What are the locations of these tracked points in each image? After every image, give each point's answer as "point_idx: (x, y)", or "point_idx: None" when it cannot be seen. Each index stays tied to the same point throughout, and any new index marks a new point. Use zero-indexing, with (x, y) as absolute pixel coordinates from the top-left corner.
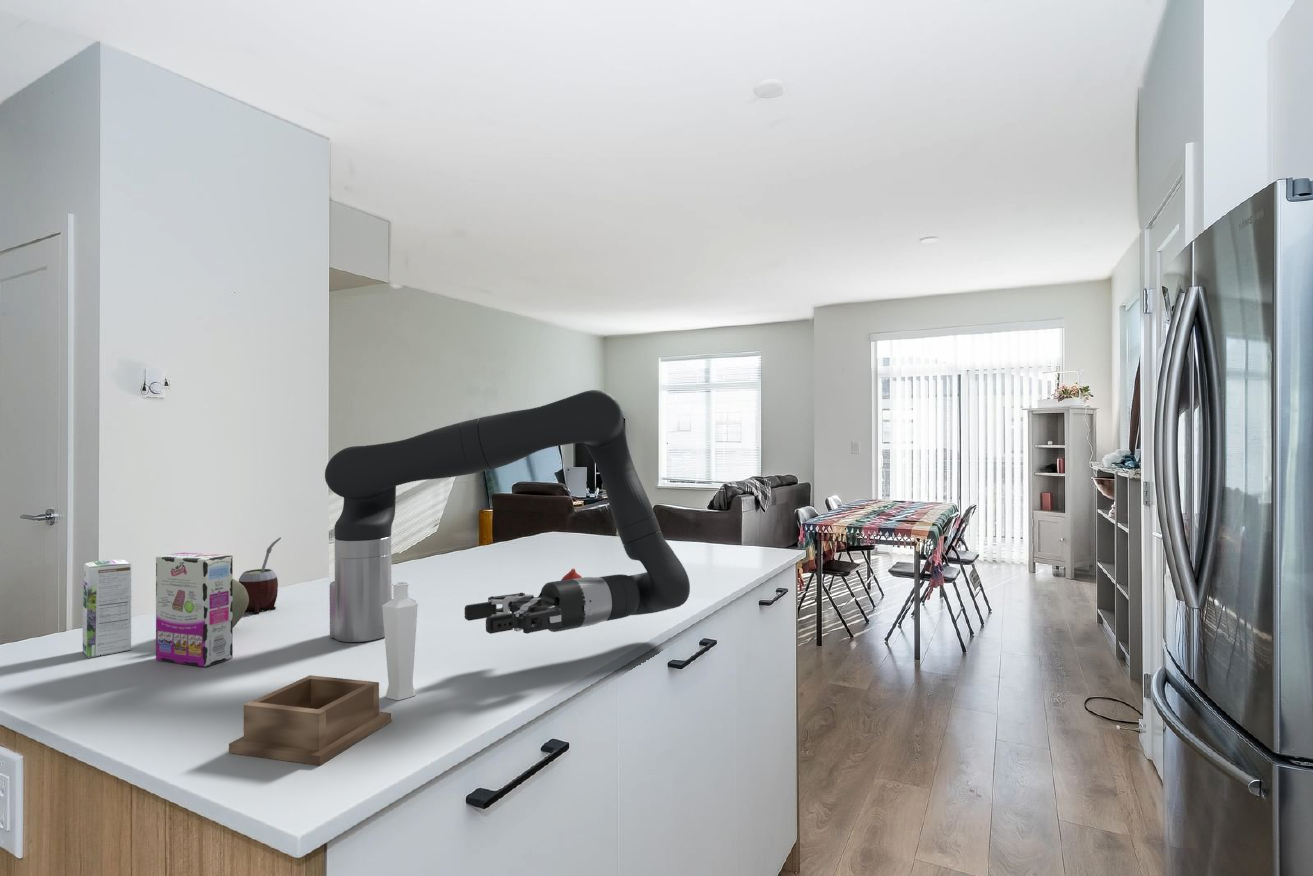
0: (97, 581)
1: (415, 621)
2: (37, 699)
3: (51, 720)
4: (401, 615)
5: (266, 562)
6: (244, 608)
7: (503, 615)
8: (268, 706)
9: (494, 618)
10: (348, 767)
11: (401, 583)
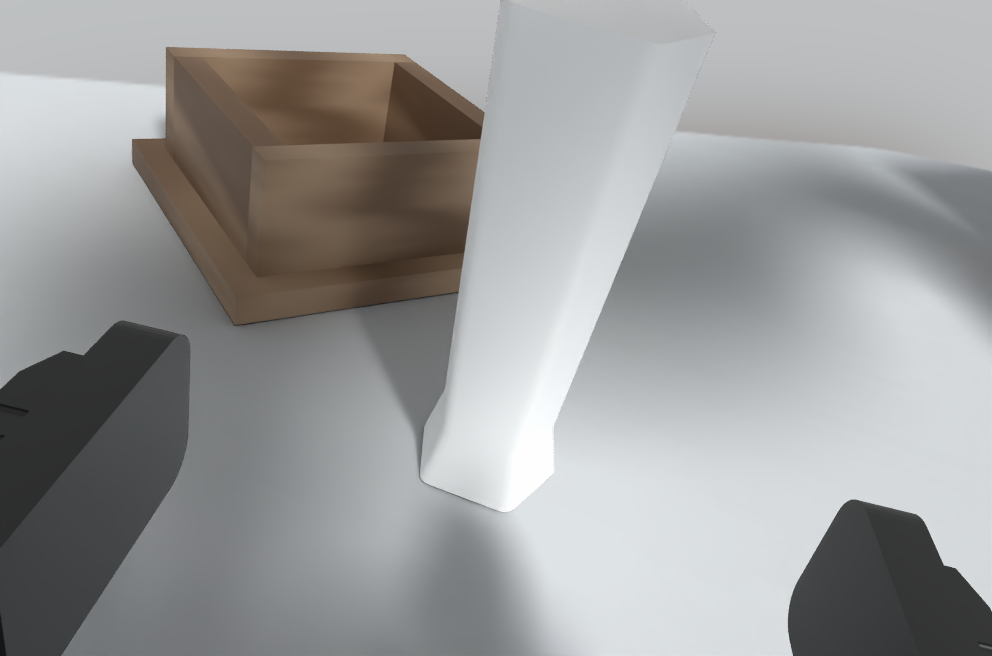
0: None
1: (492, 113)
2: (940, 171)
3: (800, 147)
4: (497, 30)
5: None
6: None
7: (20, 434)
8: (342, 55)
9: (85, 364)
10: (49, 173)
11: None
